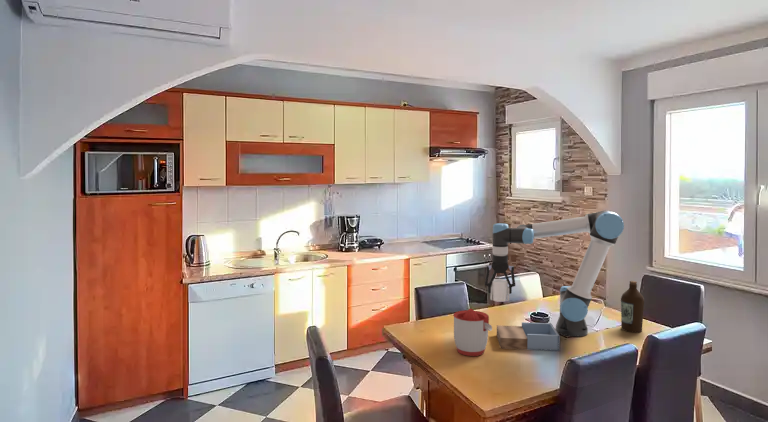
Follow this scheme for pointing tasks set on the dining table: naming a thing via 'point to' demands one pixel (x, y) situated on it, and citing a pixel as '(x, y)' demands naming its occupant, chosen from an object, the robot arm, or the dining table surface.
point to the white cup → (499, 290)
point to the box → (541, 336)
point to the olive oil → (632, 309)
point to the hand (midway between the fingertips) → (499, 299)
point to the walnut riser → (511, 337)
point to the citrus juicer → (471, 332)
